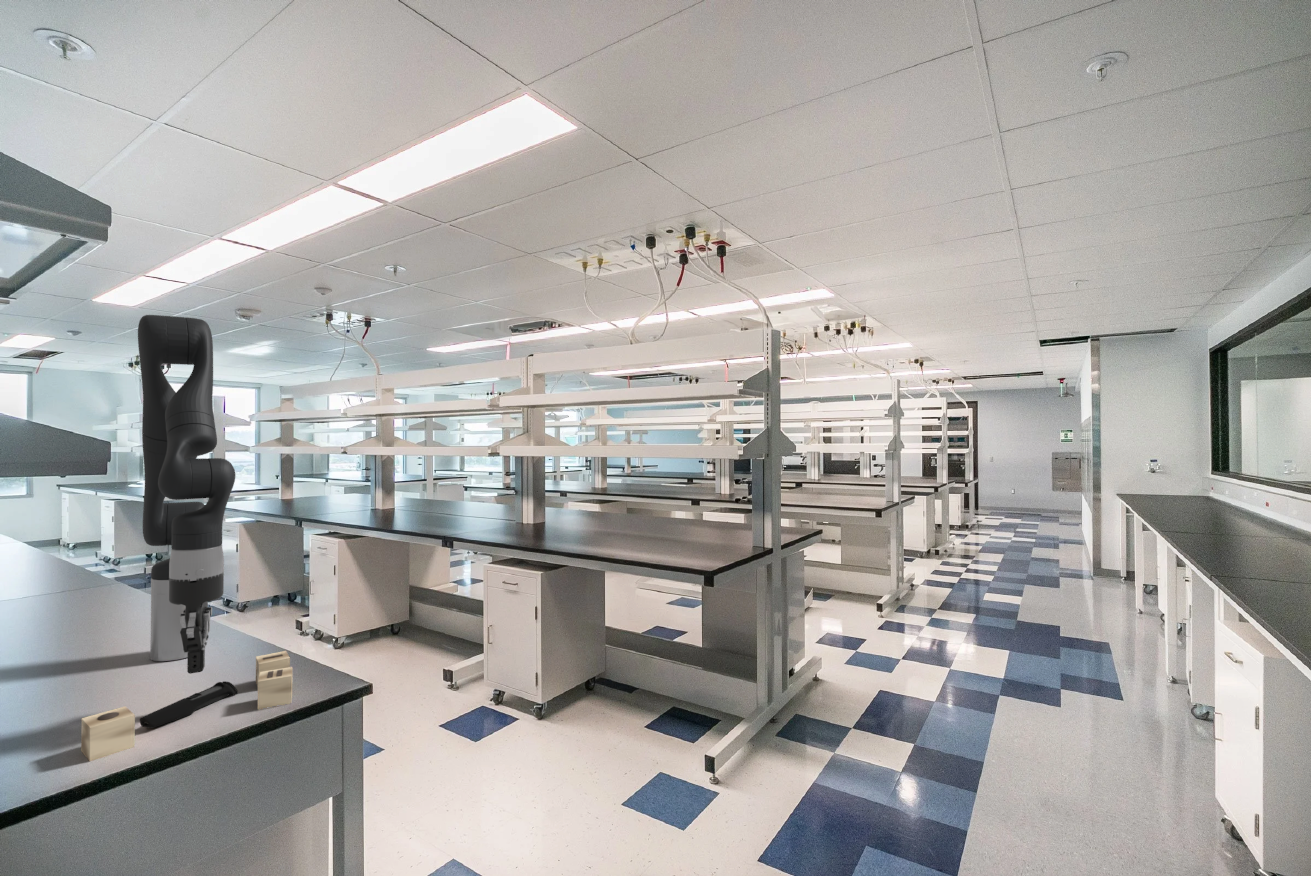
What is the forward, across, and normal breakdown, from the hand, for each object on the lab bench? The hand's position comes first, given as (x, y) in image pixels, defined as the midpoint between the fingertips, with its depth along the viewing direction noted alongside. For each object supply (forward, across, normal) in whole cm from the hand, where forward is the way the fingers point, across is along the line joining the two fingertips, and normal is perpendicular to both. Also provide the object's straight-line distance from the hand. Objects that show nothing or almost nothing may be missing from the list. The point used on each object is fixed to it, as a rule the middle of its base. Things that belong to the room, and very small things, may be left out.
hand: (196, 671), depth 102 cm
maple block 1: (+6, +10, -9) cm, 15 cm away
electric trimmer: (+7, +1, 0) cm, 7 cm away
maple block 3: (+6, +4, +12) cm, 14 cm away
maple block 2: (+7, -6, +11) cm, 14 cm away
